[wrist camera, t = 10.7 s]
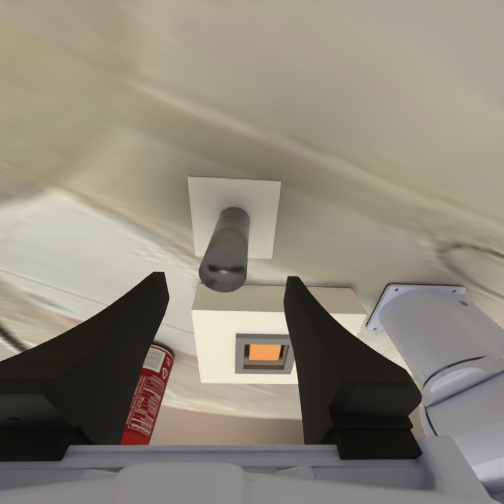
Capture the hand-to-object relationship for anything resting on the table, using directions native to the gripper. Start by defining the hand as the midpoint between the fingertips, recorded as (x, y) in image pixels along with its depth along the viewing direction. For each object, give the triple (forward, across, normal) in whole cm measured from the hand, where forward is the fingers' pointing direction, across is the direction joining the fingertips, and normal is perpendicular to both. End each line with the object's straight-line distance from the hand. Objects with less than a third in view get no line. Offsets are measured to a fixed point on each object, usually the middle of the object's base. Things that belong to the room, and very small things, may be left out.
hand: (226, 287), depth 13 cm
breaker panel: (+9, -5, +15) cm, 18 cm away
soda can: (+10, +12, +22) cm, 27 cm away
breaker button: (+9, -4, +15) cm, 18 cm away
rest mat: (+9, 0, 0) cm, 9 cm away
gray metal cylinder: (+9, 0, 0) cm, 9 cm away
